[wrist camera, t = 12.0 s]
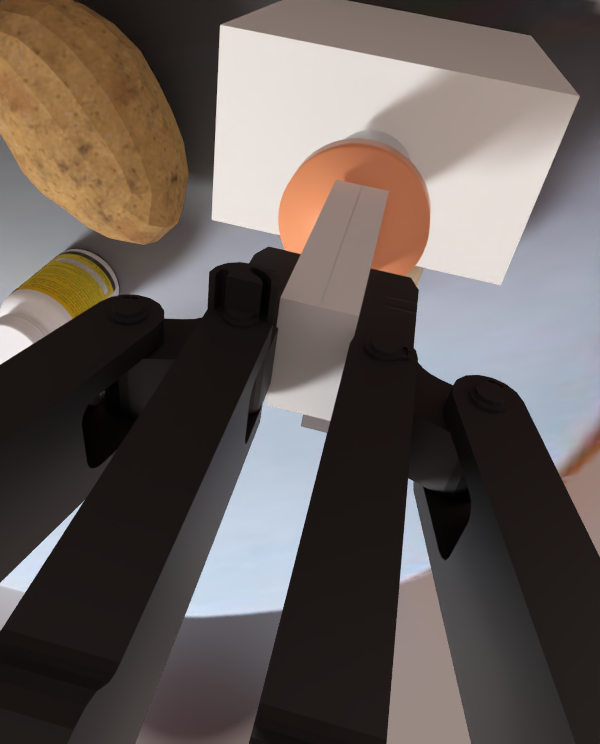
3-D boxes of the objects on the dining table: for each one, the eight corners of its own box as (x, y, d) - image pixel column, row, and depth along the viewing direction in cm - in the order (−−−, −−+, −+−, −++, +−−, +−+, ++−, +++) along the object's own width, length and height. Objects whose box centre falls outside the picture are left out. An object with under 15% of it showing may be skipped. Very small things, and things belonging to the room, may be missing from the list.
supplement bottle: (55, 236, 42) (-32, 302, 35) (123, 261, 42) (52, 332, 35) (55, 295, 46) (-23, 367, 38) (119, 317, 46) (53, 394, 38)
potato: (142, 238, 41) (87, 292, 35) (-5, 47, 35) (-103, 71, 29) (248, 173, 36) (206, 222, 30) (100, -59, 30) (11, -58, 24)
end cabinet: (497, 174, 33) (520, 289, 22) (286, 129, 34) (211, 219, 23) (546, 38, 29) (604, 101, 18) (303, -8, 30) (220, 24, 19)
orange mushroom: (414, 245, 21) (407, 307, 18) (300, 219, 22) (270, 276, 18) (450, 122, 18) (450, 167, 15) (318, 95, 19) (288, 133, 15)
